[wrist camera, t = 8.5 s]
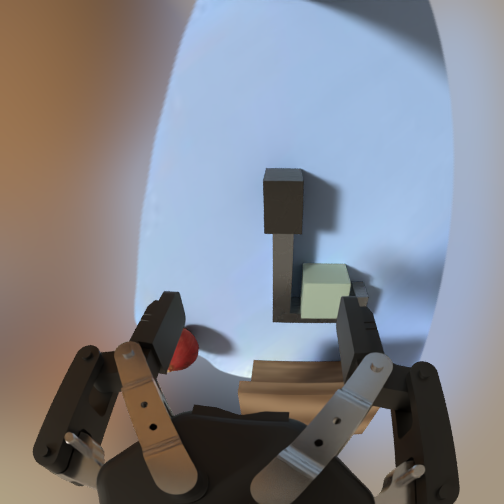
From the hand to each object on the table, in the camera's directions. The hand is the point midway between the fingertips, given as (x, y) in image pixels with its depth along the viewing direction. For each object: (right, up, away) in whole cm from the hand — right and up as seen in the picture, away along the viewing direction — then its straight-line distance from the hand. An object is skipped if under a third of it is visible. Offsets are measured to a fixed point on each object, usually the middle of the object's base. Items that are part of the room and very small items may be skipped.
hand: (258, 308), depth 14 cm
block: (+8, -1, +20) cm, 21 cm away
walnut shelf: (+8, -10, +25) cm, 28 cm away
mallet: (+7, +3, +17) cm, 19 cm away
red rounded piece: (-10, -9, +27) cm, 30 cm away
